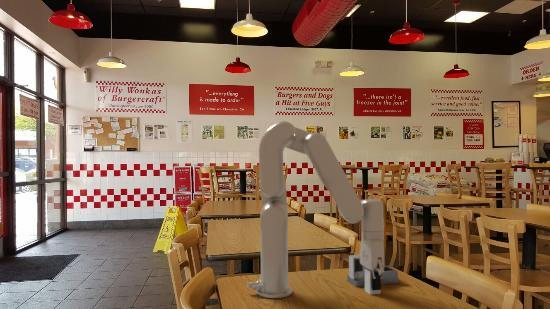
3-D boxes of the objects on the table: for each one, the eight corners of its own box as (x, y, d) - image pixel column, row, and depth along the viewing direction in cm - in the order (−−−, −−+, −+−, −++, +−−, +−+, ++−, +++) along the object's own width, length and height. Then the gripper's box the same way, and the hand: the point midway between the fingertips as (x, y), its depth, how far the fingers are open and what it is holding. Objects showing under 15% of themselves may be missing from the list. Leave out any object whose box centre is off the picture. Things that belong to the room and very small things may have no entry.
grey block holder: (356, 286, 147) (355, 259, 147) (346, 280, 155) (346, 254, 155) (398, 283, 151) (398, 256, 151) (387, 277, 159) (387, 251, 159)
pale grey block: (370, 294, 138) (370, 271, 138) (364, 290, 142) (364, 268, 142) (381, 293, 139) (381, 270, 139) (375, 289, 143) (374, 267, 143)
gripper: (352, 231, 148) (352, 281, 148) (374, 240, 132) (374, 296, 132) (370, 230, 150) (371, 279, 150) (394, 239, 134) (395, 294, 133)
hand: (372, 287), depth 141 cm, fingers closed on pale grey block, 4 cm apart
